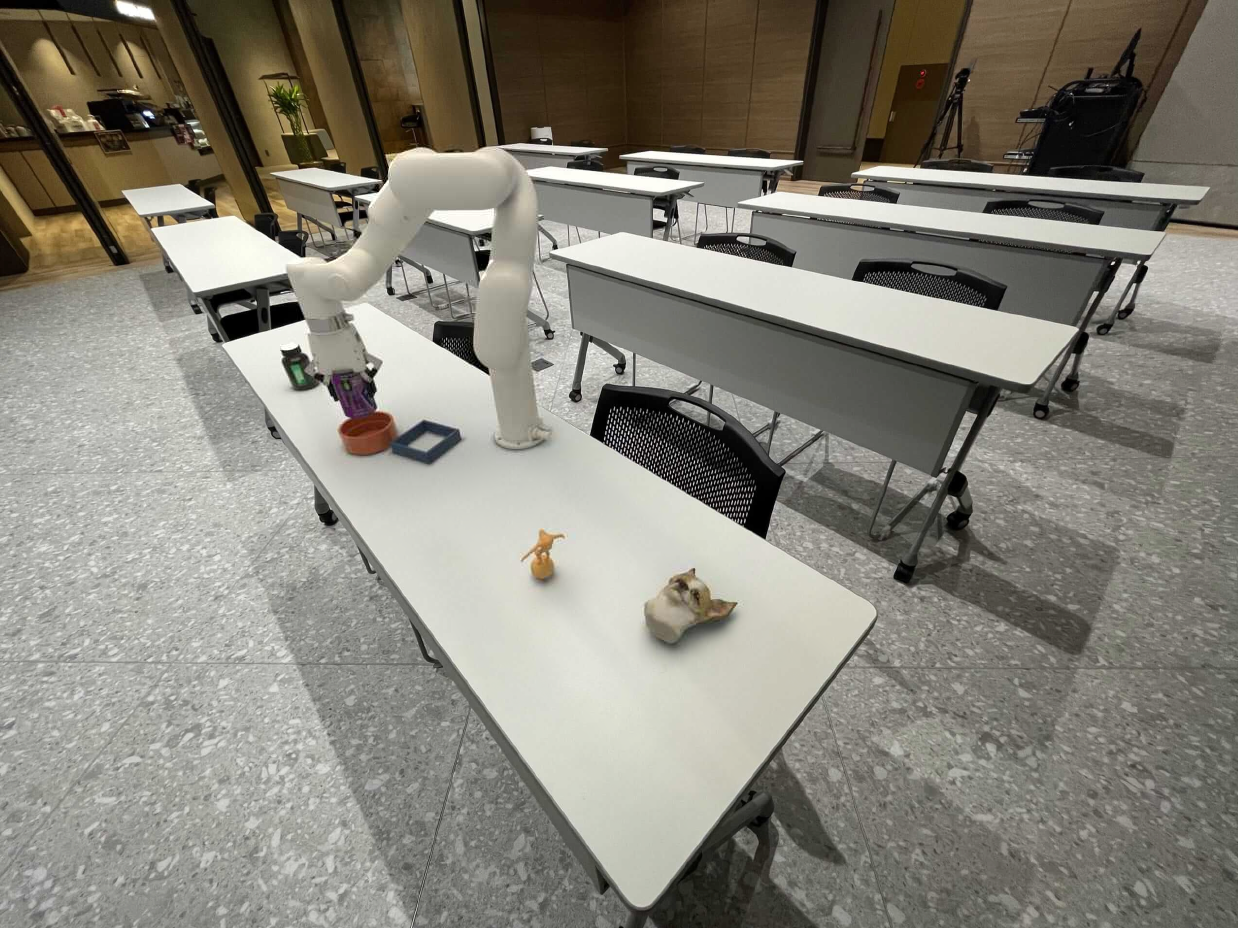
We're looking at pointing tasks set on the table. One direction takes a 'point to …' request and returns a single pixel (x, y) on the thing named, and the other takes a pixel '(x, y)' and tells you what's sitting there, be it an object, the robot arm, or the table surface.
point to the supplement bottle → (297, 367)
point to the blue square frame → (400, 442)
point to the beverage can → (353, 394)
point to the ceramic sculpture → (683, 607)
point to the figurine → (542, 563)
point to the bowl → (368, 433)
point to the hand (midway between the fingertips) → (355, 396)
